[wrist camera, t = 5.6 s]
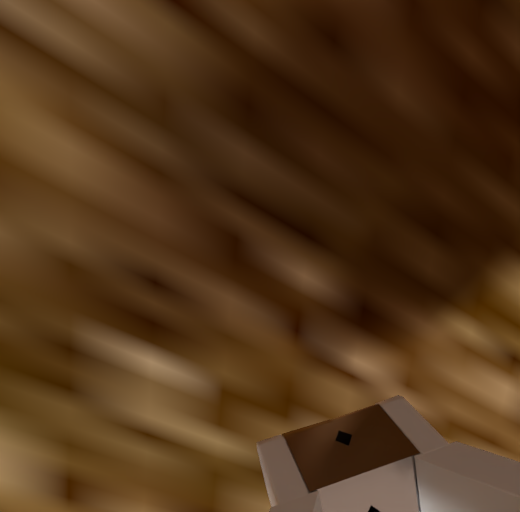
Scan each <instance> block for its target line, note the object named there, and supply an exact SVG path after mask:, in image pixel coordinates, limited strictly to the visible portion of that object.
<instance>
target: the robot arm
mask: <svg viewBox="0 0 520 512" xmlns="http://www.w3.org/2000/svg"><path fill="white" fill-rule="evenodd" d="M257 450H258V454H259V458H260V463H261V467H262V471H263V475H264V480H265V484H266V488H267V492H268V496H269V499H270V503H271V508H270V511H269V512H520V462H518V461H515V460H512V459H509V458H506V457H502V456H499V455H496V454H493V453H490V452H487V451H484V450H481V449H478V448H475V447H472V446H469V445H466V444H462V443H459V442H453V443H450V444H449V443H448V442H447V441H446V440H445V439H444V438H443V437H442V436H441V435H440V434H439V433H438V432H437V431H436V430H435V429H434V428H433V427H432V426H431V425H430V424H429V423H428V422H427V421H426V420H425V419H424V418H423V417H422V416H421V415H420V414H419V413H418V412H417V411H416V410H415V409H414V407H413V406H412V405H411V404H410V403H409V402H408V401H407V400H406V399H405V398H404V397H402V396H399V395H398V396H395V397H392V398H389V399H387V400H384V401H381V402H378V403H376V404H375V405H372V406H369V407H366V408H363V409H360V410H357V411H354V412H351V413H348V414H345V415H343V416H340V417H337V418H334V419H331V420H326V421H323V422H320V423H316V424H313V425H310V426H307V427H303V428H300V429H297V430H294V431H290V432H287V433H284V434H282V435H278V436H275V437H272V438H269V439H265V440H262V441H259V442H257Z"/></svg>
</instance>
